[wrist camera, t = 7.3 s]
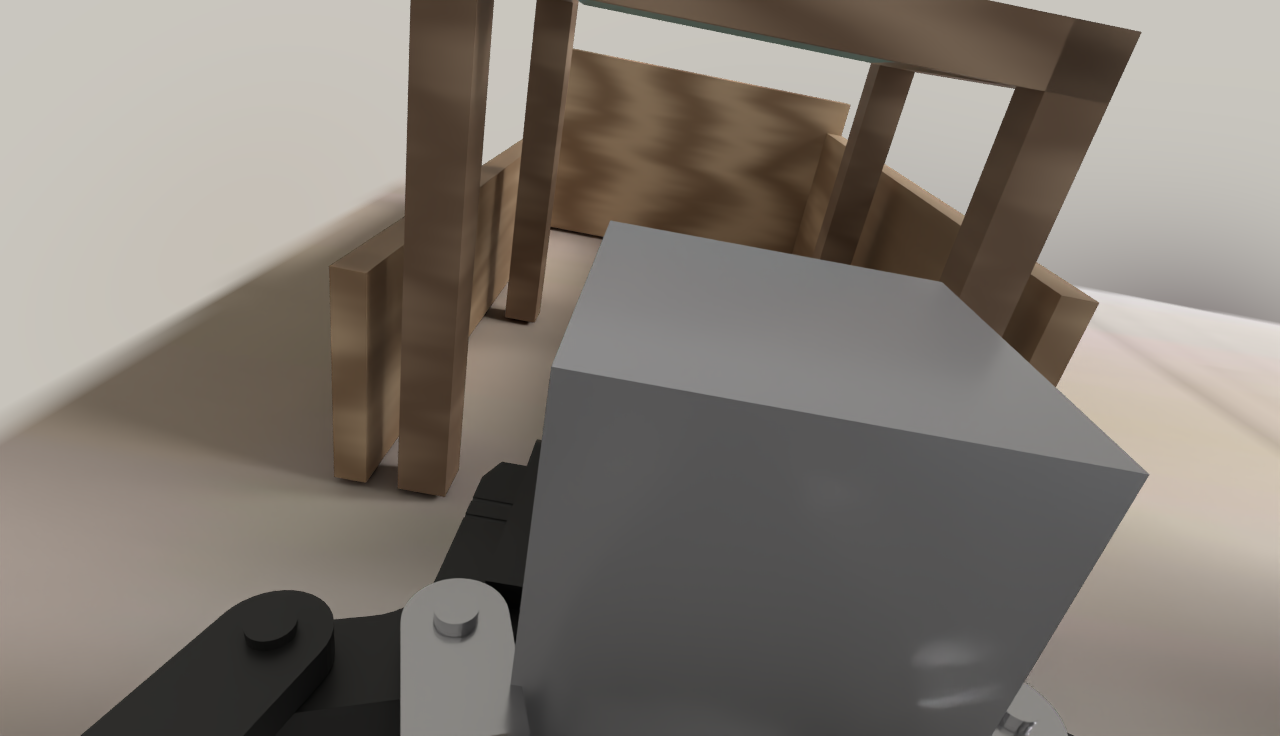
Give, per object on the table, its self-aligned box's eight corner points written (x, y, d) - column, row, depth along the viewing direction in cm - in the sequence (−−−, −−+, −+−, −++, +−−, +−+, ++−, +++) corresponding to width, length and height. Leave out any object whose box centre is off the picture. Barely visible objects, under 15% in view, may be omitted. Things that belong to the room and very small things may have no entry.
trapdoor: (870, 62, 28) (877, 36, 28) (993, 59, 17) (1008, 16, 17) (584, 4, 28) (587, -23, 27) (523, -36, 17) (528, -84, 16)
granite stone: (759, 755, 15) (941, 281, 10) (792, 1064, 10) (1148, 474, 6) (533, 717, 15) (610, 220, 10) (467, 1013, 10) (550, 366, 6)
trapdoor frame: (797, 270, 52) (866, 39, 45) (951, 588, 22) (1229, 50, 15) (536, 219, 51) (564, -23, 44) (334, 476, 21) (319, -139, 14)
